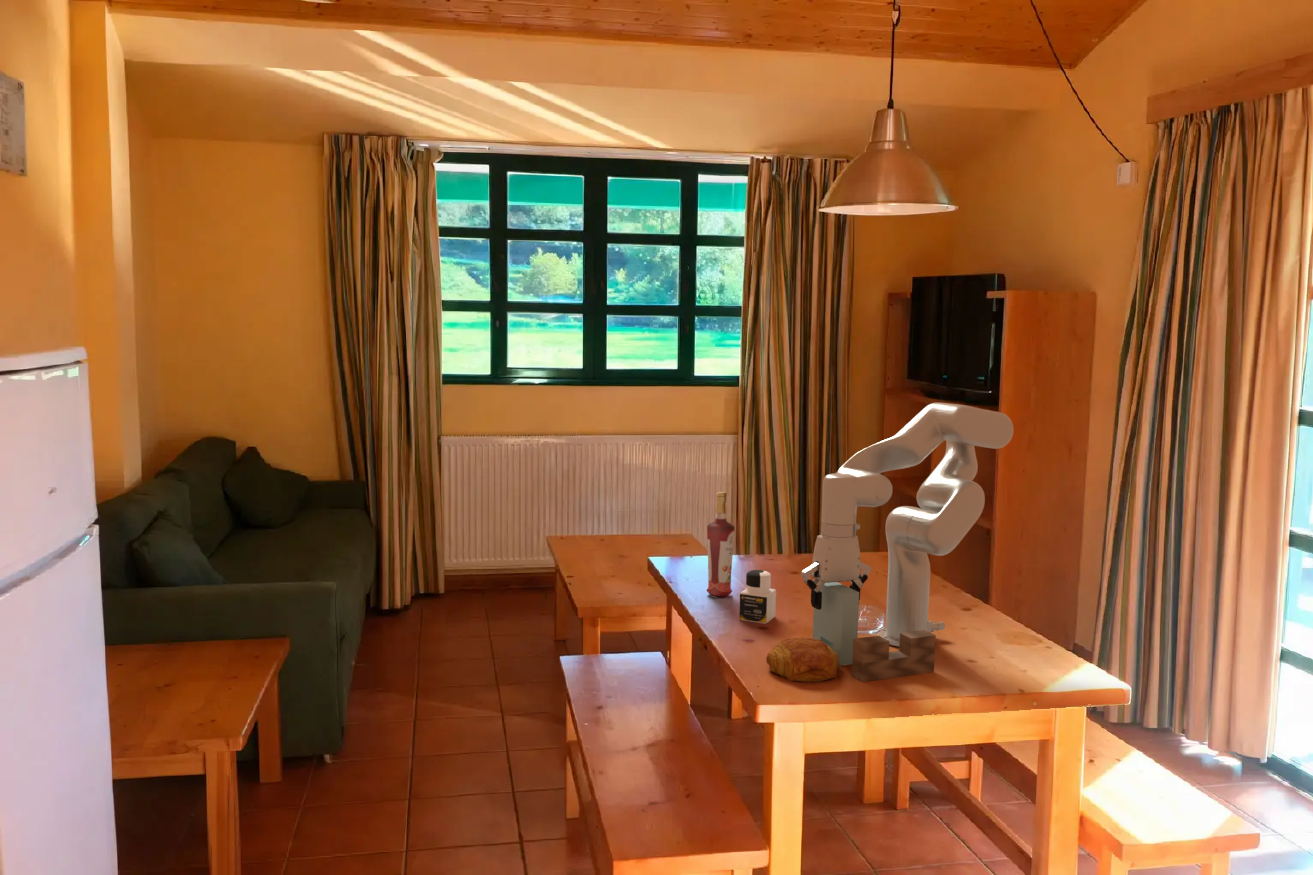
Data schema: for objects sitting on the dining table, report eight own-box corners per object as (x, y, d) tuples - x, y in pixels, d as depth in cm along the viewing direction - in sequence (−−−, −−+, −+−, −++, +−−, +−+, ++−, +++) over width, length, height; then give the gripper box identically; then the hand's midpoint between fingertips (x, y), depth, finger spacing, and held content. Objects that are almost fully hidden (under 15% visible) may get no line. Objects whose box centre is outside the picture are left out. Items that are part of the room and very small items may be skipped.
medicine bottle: (738, 620, 261) (739, 572, 259) (748, 612, 267) (750, 566, 266) (766, 624, 258) (767, 576, 256) (775, 616, 264) (777, 570, 263)
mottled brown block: (922, 665, 230) (924, 629, 229) (933, 671, 226) (935, 635, 225) (851, 675, 223) (853, 638, 222) (862, 681, 219) (863, 644, 218)
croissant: (764, 670, 232) (760, 635, 231) (834, 660, 232) (830, 625, 232) (775, 693, 217) (771, 655, 216) (850, 682, 218) (845, 644, 217)
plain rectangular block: (812, 648, 240) (814, 580, 238) (827, 646, 241) (829, 578, 239) (840, 665, 229) (843, 593, 227) (856, 663, 230) (859, 592, 228)
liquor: (725, 600, 278) (727, 496, 274) (700, 596, 281) (702, 493, 278) (737, 594, 284) (740, 491, 281) (713, 590, 288) (715, 489, 284)
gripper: (862, 524, 238) (859, 598, 240) (795, 529, 232) (792, 604, 234) (881, 531, 231) (878, 607, 233) (812, 536, 225) (809, 614, 227)
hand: (835, 605), depth 234 cm, fingers open, 9 cm apart
